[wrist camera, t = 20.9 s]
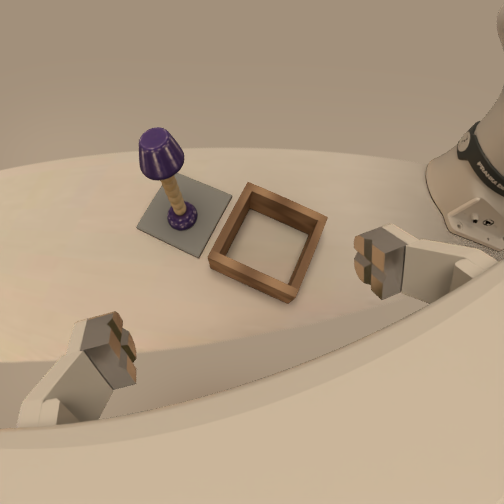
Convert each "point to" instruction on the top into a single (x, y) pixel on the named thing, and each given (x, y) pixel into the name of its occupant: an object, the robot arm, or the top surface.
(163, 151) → the toy lamp
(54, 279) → the top surface
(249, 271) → the walnut crate
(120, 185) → the top surface
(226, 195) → the slate mat
